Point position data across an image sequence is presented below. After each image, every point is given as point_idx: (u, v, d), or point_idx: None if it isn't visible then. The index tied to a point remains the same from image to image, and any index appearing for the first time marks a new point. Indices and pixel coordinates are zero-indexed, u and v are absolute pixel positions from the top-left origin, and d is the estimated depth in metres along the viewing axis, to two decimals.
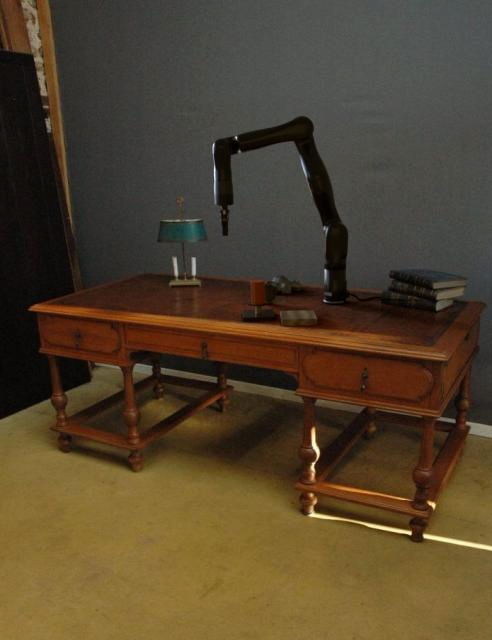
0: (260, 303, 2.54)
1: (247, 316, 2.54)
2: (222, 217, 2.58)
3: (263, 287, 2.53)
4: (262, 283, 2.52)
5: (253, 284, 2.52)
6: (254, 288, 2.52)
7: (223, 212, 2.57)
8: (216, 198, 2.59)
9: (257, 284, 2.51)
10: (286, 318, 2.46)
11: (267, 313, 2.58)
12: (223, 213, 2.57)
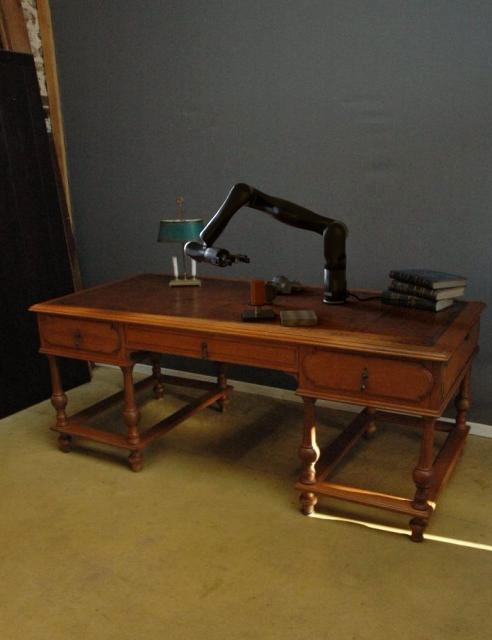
0: (260, 303, 2.54)
1: (247, 316, 2.54)
2: (215, 263, 2.61)
3: (263, 287, 2.53)
4: (262, 283, 2.52)
5: (253, 284, 2.52)
6: (254, 288, 2.52)
7: (212, 261, 2.63)
8: (215, 265, 2.70)
9: (257, 284, 2.51)
10: (286, 318, 2.46)
11: (267, 313, 2.58)
12: (213, 262, 2.62)
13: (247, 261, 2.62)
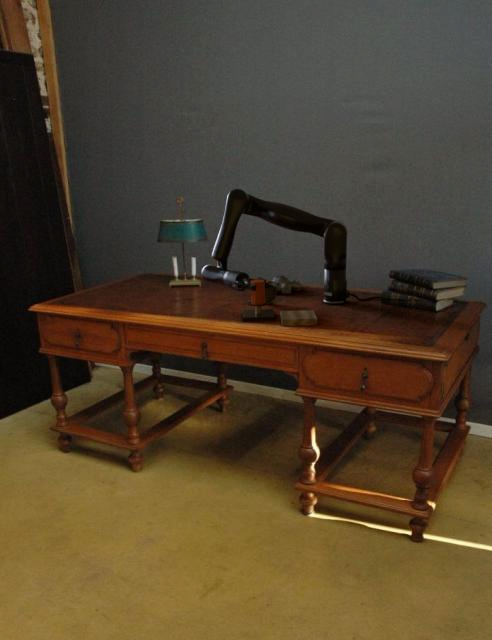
0: (260, 303, 2.54)
1: (247, 316, 2.54)
2: (237, 288, 2.54)
3: (263, 287, 2.53)
4: (262, 283, 2.52)
5: None
6: None
7: (233, 286, 2.55)
8: (234, 289, 2.63)
9: (257, 284, 2.51)
10: (286, 318, 2.46)
11: (267, 313, 2.58)
12: (234, 286, 2.55)
13: (266, 286, 2.54)
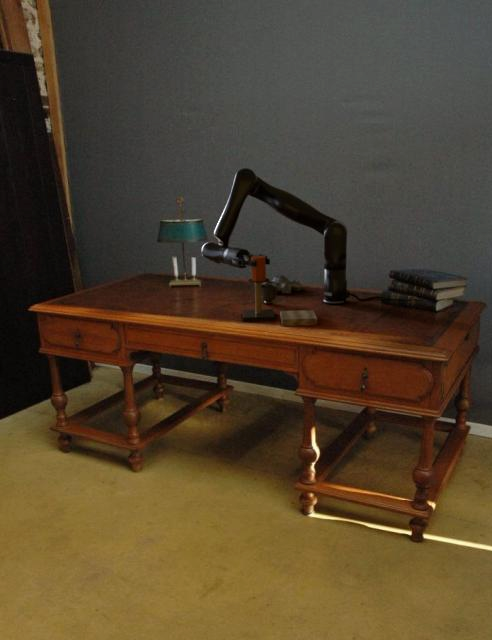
0: (261, 279, 2.50)
1: (247, 316, 2.54)
2: (237, 264, 2.51)
3: (264, 263, 2.49)
4: (263, 259, 2.48)
5: None
6: None
7: (234, 262, 2.52)
8: (235, 266, 2.59)
9: (258, 260, 2.48)
10: (286, 318, 2.46)
11: (267, 313, 2.58)
12: (235, 263, 2.52)
13: (267, 262, 2.51)
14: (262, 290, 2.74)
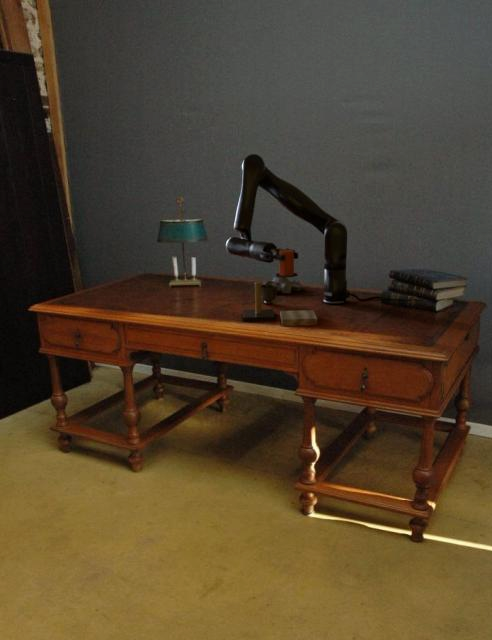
0: (289, 274, 2.45)
1: (247, 316, 2.54)
2: (265, 258, 2.45)
3: (292, 257, 2.43)
4: (291, 253, 2.42)
5: None
6: None
7: (261, 256, 2.46)
8: (261, 260, 2.54)
9: (286, 254, 2.42)
10: (286, 318, 2.46)
11: (267, 313, 2.58)
12: (262, 257, 2.46)
13: (295, 256, 2.45)
14: (262, 290, 2.74)
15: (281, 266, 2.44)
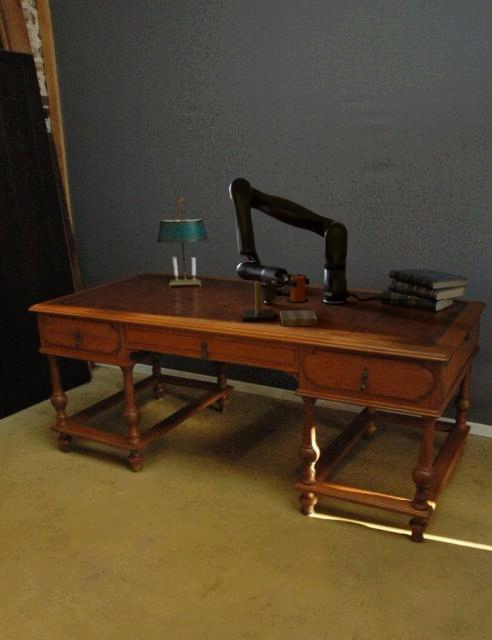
0: (300, 300, 2.46)
1: (247, 316, 2.54)
2: (277, 284, 2.46)
3: (304, 283, 2.45)
4: (303, 279, 2.44)
5: (293, 280, 2.44)
6: None
7: (273, 282, 2.47)
8: (273, 285, 2.55)
9: (298, 280, 2.43)
10: (286, 318, 2.46)
11: (267, 313, 2.58)
12: (274, 282, 2.47)
13: (307, 282, 2.46)
14: (262, 290, 2.74)
15: (292, 292, 2.46)
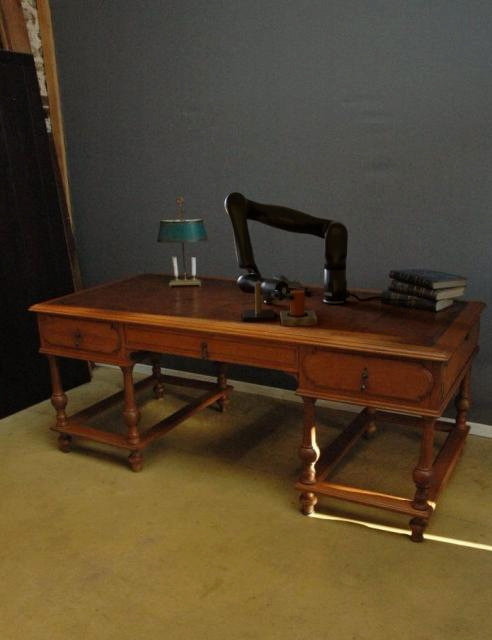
0: (300, 314, 2.48)
1: (247, 316, 2.54)
2: (274, 297, 2.48)
3: (303, 298, 2.47)
4: (302, 294, 2.46)
5: None
6: (294, 299, 2.46)
7: (272, 295, 2.50)
8: (273, 298, 2.57)
9: (297, 295, 2.45)
10: (286, 318, 2.46)
11: (267, 313, 2.58)
12: (272, 295, 2.49)
13: (308, 294, 2.49)
14: None
15: (292, 306, 2.48)
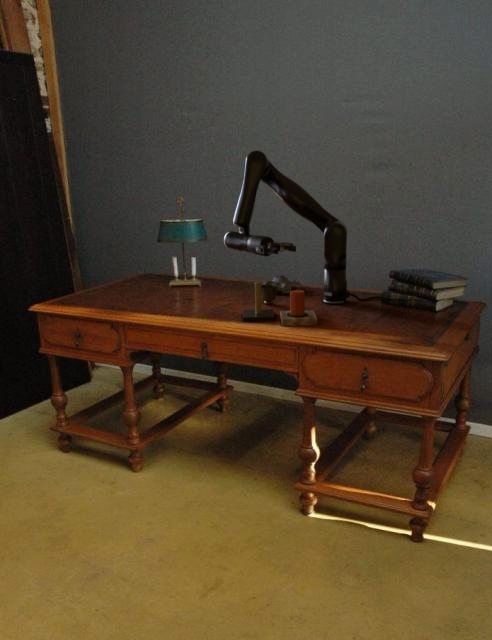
0: (300, 314, 2.48)
1: (247, 316, 2.54)
2: (260, 252, 2.49)
3: (303, 298, 2.47)
4: (302, 294, 2.46)
5: (293, 295, 2.46)
6: (294, 299, 2.46)
7: (257, 250, 2.50)
8: (259, 254, 2.58)
9: (297, 295, 2.45)
10: (286, 318, 2.46)
11: (267, 313, 2.58)
12: (257, 250, 2.50)
13: (293, 249, 2.50)
14: (262, 290, 2.74)
15: (292, 306, 2.48)
